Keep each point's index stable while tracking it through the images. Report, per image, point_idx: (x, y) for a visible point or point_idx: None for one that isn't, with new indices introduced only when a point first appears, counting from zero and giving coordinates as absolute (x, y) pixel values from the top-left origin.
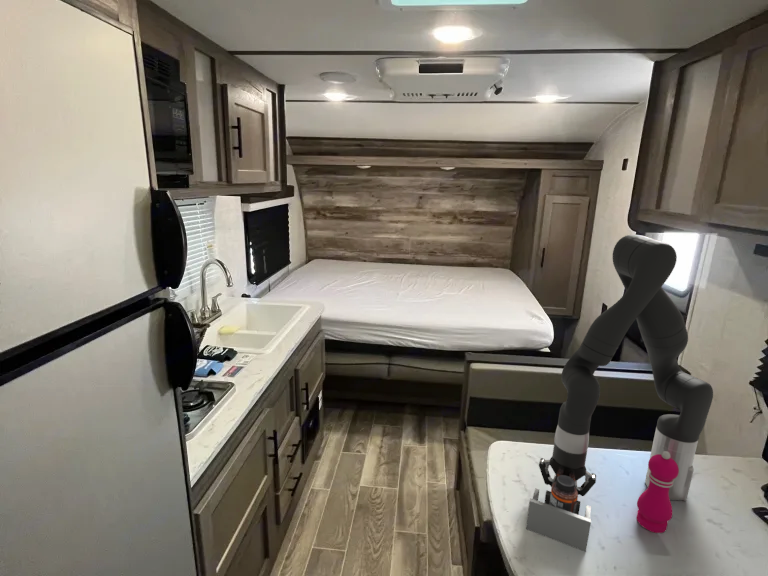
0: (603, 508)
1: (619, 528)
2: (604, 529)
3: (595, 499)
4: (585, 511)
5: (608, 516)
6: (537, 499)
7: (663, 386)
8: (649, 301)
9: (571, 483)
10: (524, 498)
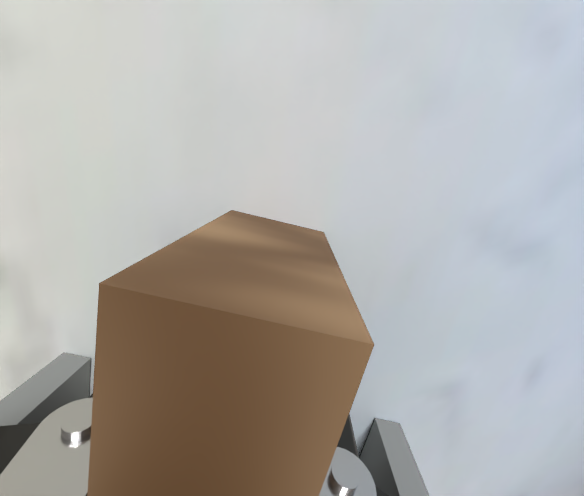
0: (539, 314)
1: (562, 449)
2: (465, 472)
3: (517, 233)
4: (387, 494)
5: (539, 377)
6: None
7: None
8: None
9: None
10: (4, 356)
